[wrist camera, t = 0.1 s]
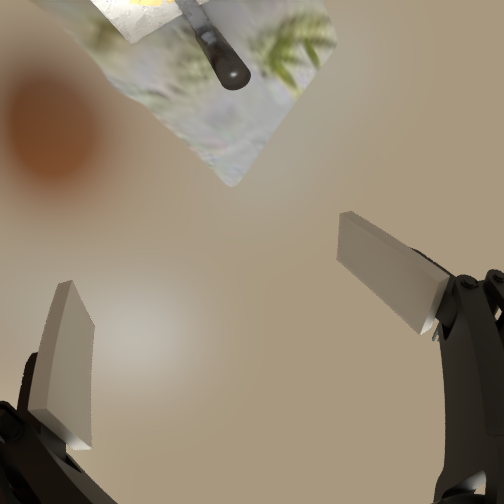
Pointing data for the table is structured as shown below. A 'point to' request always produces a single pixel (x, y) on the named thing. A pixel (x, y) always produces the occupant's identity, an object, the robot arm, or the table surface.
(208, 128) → the table surface
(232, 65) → the tan ring with handle
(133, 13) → the flange plate
